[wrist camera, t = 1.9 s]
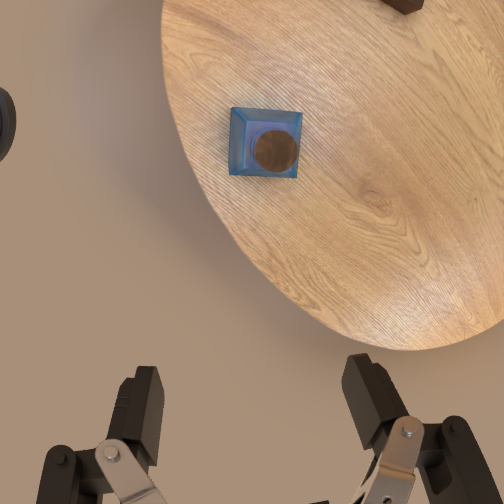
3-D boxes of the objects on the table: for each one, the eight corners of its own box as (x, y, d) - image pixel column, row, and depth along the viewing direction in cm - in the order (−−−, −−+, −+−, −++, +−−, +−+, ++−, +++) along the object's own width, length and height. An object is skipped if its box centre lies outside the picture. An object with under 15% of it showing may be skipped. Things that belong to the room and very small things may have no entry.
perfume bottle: (284, 166, 33) (313, 195, 23) (228, 163, 33) (230, 191, 22) (288, 112, 31) (322, 113, 20) (231, 108, 30) (235, 106, 19)
